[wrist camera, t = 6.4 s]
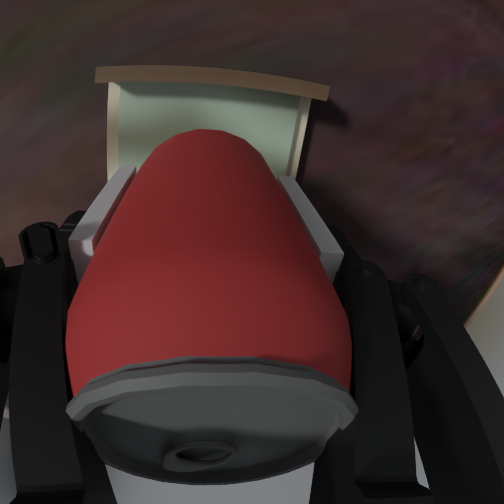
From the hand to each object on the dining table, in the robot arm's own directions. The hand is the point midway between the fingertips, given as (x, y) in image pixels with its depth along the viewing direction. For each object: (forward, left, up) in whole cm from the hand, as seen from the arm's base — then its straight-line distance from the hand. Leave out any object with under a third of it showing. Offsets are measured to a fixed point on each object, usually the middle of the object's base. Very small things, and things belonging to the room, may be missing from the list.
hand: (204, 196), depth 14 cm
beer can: (0, 0, -1) cm, 1 cm away
